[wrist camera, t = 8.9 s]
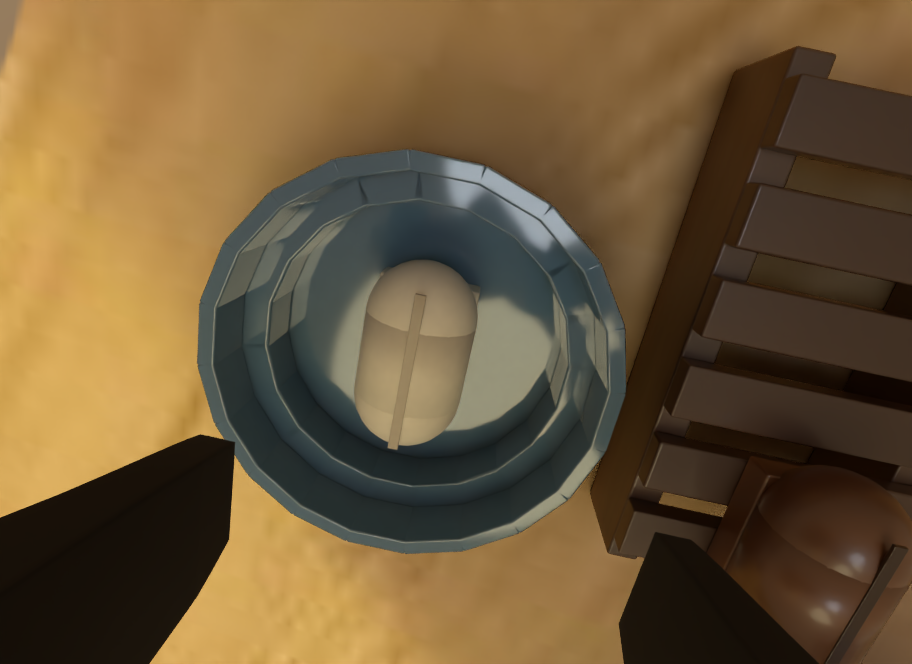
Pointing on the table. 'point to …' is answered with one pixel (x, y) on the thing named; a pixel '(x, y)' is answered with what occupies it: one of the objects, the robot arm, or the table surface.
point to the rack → (770, 309)
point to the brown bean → (817, 553)
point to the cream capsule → (415, 351)
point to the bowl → (339, 339)
